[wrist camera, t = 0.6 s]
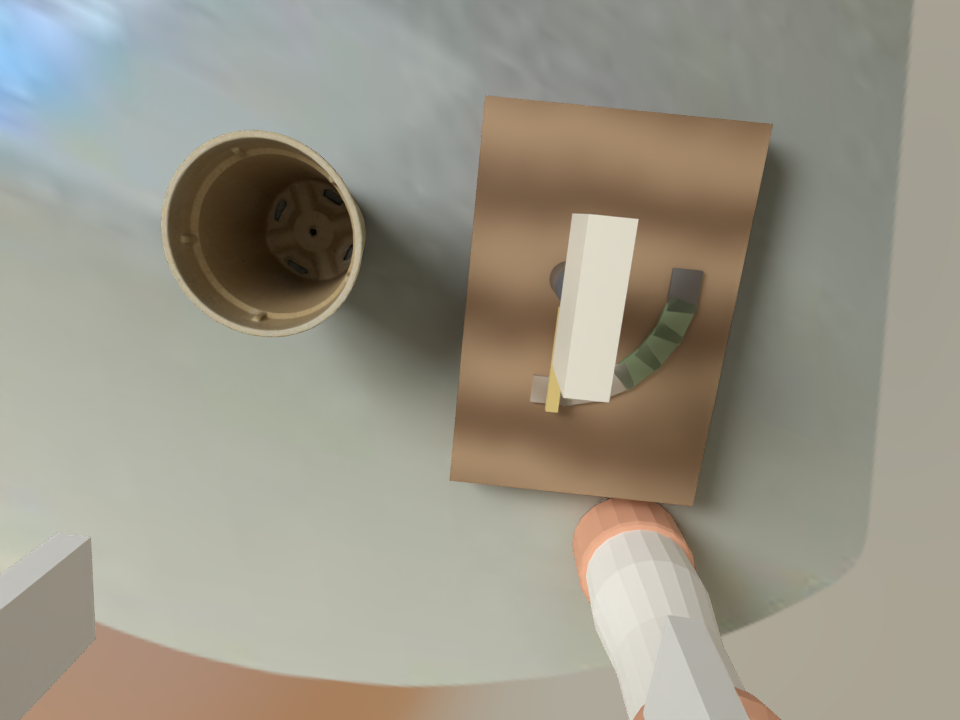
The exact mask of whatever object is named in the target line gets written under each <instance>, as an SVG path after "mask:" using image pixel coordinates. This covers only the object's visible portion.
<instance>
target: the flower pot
mask: <svg viewBox="0 0 960 720" xmlns="http://www.w3.org/2000/svg"><path fill="white" fill-rule="evenodd" d="M325 190H331V191H333V192H334V193H335V194H336V195H337V196H338V197H340V198H341V199H342V200H343V202H342V203H341V205H337V204H336V203H334V202H333V201H331V200H330V199H328V198H326V197H324V192H325ZM282 200H284V201H285V202H286V204H287V206H286V208H285V209H284V210H283V212H282V214H281V217H280V218H279V220H276V219H275V217H276V211H277V208H278V206H279V203H280V202H281V201H282ZM311 229H316V235H314V236H313V235H311V233H310V230H311ZM161 235H162V240H163V246H164V251H165V256H166V258H167V262H168V264H169V266H170V269H171V271H172V274H173V275H174V277H175V279H176V280H177V282H178V284H179V286H180V287H181V289H182V290H183V291H184V293H185V294H186V295H187V296H188V298H189V299H190V300H191V301H192V302H193V303H194V304H195V305H196V306H197V307H198V308H199V309H201V310H202V312H204V313H205V314H207V315H208V316H210V317H211V318H213V319H214V320H216V321H217V322H219V323H221V324H223V325H225V326H227V327H229V328H231V329H234V330H236V331H239V332H242V333H246V334H250V335H255V336H263V337H283V336H289V335H293V334H297V333H301V332H304V331H307V330H309V329H311V328H314V327H315V326H317V325H319V324H320V323H322V322H323V321H325V320H326V319H327V318H328V317H330V316H331V315H332V314H333V313H334V312H335V311H336V310H338V308H339V307H340V306H341V305H342V304H343V302H344V301H345V300H346V298H347V297H348V295H349V294H350V292H351V290H352V288H353V286H354V284H355V282H356V279H357V276H358V273H359V271H360V266H361V261H362V254H363V251H364V247H365V242H366V228H365V222H364V218H363V215H362V213H361V210H360V208H359V206H358V205H357V203H356V202H355V200H354V199H353V197H352V195H351V193H350V191H349V190H348V188H347V186H346V185H345V183H344V181H343V180H342V178H341V177H340V176H339V174H338V173H337V172H336V171H335V169H334V168H333V167H332V166H331V165H330V164H329V163H328V162H327V161H326V160H325V159H324V158H323V157H322V156H320V155H319V154H318V153H316V152H315V151H314V150H312V149H311V148H309V147H308V146H306V145H304V144H303V143H301V142H299V141H297V140H295V139H292V138H290V137H287V136H284V135H281V134H278V133H274V132H268V131H260V130H244V131H235V132H231V133H227V134H223V135H221V136H217V137H215V138H213V139H211V140H209V141H207V142H206V143H204V144H203V145H201V146H200V147H198V148H196V149H195V150H194V151H193V152H192V153H191V154H190V155H189V156H188V157H187V158H186V159H185V160H184V162H183V163H182V164H181V165H180V166H179V168H178V169H177V171H176V173H175V175H174V176H173V178H172V180H171V182H170V184H169V187H168V190H167V192H166V195H165V199H164V203H163V207H162V216H161ZM351 245H353V252H352V254H351V255H350V257H349V258H348V259H347V260H343V258H344V257H345V255H346V249H347V250H348V249H349V248H350V246H351ZM289 260H291V261H293V262H294V263H296V264H298V265H299V266H301V267H303V268H305V269H307V273H306V274H304V273H299V272H297V271H296V270H294V269H292V268H291V267H290V265H289V263H288V261H289Z"/></svg>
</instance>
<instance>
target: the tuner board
mask: <svg viewBox="0 0 960 720" xmlns="http://www.w3.org/2000/svg"><path fill="white" fill-rule="evenodd" d="M772 127H773V124H767V123H757V122H747V121H736V120H726V119H716V118H706V117H696V116H686V115H676V114H666V113H656V112H646V111H636V110H625V109H615V108H605V107H595V106H585V105H575V104H565V103H555V102H545V101H535V100H524V99H514V98H504V97H494V96H485V103H484V114H483V125H482V136H481V147H480V157H479V168H478V179H477V190H476V201H475V212H474V222H473V233H472V244H471V255H470V266H469V277H468V287H467V298H466V309H465V320H464V331H463V342H462V352H461V363H460V374H459V385H458V396H457V407H456V417H455V428H454V439H453V450H452V461H451V472H450V481H459V482H468V483H478V484H487V485H497V486H506V487H516V488H525V489H535V490H544V491H554V492H563V493H573V494H582V495H592V496H601V497H611V498H620V499H630V500H639V501H649V502H658V503H668V504H677V505H686V506H693V503H694V498H695V494H696V489H697V484H698V479H699V475H700V470H701V465H702V460H703V456H704V451H705V446H706V441H707V436H708V432H709V427H710V422H711V417H712V413H713V408H714V403H715V398H716V394H717V389H718V384H719V379H720V375H721V370H722V365H723V360H724V356H725V351H726V346H727V341H728V336H729V332H730V327H731V322H732V317H733V313H734V308H735V303H736V298H737V294H738V289H739V284H740V279H741V275H742V270H743V265H744V260H745V255H746V251H747V246H748V241H749V236H750V232H751V227H752V222H753V217H754V213H755V208H756V203H757V198H758V194H759V189H760V184H761V179H762V175H763V170H764V165H765V160H766V155H767V151H768V146H769V141H770V136H771V132H772ZM572 213H575V214H593V215H603V216H613V217H623V218H633V219H639V220H638V226H637V232H636V238H635V245H634V251H633V257H632V263H631V269H630V276H629V282H628V288H627V294H626V300H625V306H624V313H623V319H622V325H621V331H620V337H619V344H618V350H617V356H616V362H615V368H614V374H613V381H612V387H611V393H610V399H609V403H608V402H599V401H589V400H579V399H570V398H563V396H562V393H560V400H559V407H558V413H556V412H547V411H545V404H546V397H547V389H548V382H549V374H550V367H551V359H552V351H553V344H554V336H555V329H556V321H557V314H558V307H560V303H561V302H560V300H559V299H558V297H557V296H556V294H555V293H554V291H553V290H552V288H551V286H550V281H549V279H550V274H551V271H552V270H553V268H554V267H555V266H556V265H557V264H559V263H561V262H564V261H566V258H567V250H568V243H569V235H570V228H571V220H572Z"/></svg>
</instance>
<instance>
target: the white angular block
mask: <svg viewBox="0 0 960 720" xmlns="http://www.w3.org/2000/svg"><path fill="white" fill-rule="evenodd" d="M638 220H639V219H633V218H623V217H613V216H603V215H593V214H575V213H572V220H571V228H570V235H569V243H568V250H567V258H566V261H564V262H561V263H559V264H557V265H556V266H555V267H554V268H553V270H552V271H551V274H550V279H549V281H550V286H551V288H552V290H553V291H554V293H555V294H556V296H557V297H558V299H559V300H560V302H561V303H560V307H558V314H557V321H556V329H555V336H554V344H553V351H552V359H551V367H550V374H549V382H548V389H547V397H546V404H545V411H547V412H556V413H558V407H559V400H560V393H562V396H563V398H570V399H579V400H589V401H599V402H608V403H609V399H610V393H611V387H612V381H613V374H614V368H615V362H616V356H617V350H618V344H619V337H620V331H621V325H622V319H623V313H624V306H625V300H626V294H627V288H628V282H629V276H630V269H631V263H632V257H633V251H634V245H635V238H636V232H637V226H638Z"/></svg>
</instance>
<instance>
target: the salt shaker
mask: <svg viewBox="0 0 960 720" xmlns="http://www.w3.org/2000/svg"><path fill="white" fill-rule="evenodd" d="M573 550H574V556H575V561H576V566H577V570H578V575H579V580H580V585H581V589H582V591H583V593H584V594H585V596H586V598H587V599H588V601H589V603H590V604H591V608H592V613H593V619H594V624H595V629H596V631H597V633H598V635H599V637H600V639H601V641H602V644H603V646H604V648H605V650H606V652H607V654H608V656H609V659H610V661H611V663H612V665H613V667H614V669H615V671H616V674H617V676H618V679H619V683H620V687H621V691H622V694H623V699H624V702H625V706H626V710H627V714H628V718H629V720H645V719H644V716H643V711H644V707H645V703H646V699H647V695H648V691H649V687H650V683H651V679H652V675H653V671H654V667H655V663H656V659H657V655H658V651H659V647H660V643H661V639H662V635H663V631H664V627H665V623H666V619H667V615H671V616H678V617H686V618H693V619H700V620H701V621H702V623H703V625H704V627H705V629H706V631H707V633H708V635H709V637H710V639H711V641H712V643H713V645H714V647H715V649H716V651H717V653H718V656H719V658H720V660H721V662H722V664H723V666H724V668H725V670H726V672H727V674H728V676H729V678H730V680H731V682H732V684H733V686H734V688H735V691H736V693H737V695H738V697H739V699H740V701H741V703H742V705H743V707H744V709H745V711H746V713H747V715H748V717H749V719H750V720H781V719H779V717H777V716H776V715H775V714H774V713H773V712H772V711H771V710H770V709H769V708H768V707H766V706H765V705H764V704H763V703H762V702H761V701H759V700H758V699H757V698H756V697H755V696H753V695H751V694H750V693H748V692H746V691H745V689H744V687H743V685H742V683H741V681H740V679H739V677H738V675H737V673H736V671H735V669H734V667H733V665H732V663H731V661H730V659H729V657H728V655H727V653H726V651H725V649H724V646H723V643H722V640H721V636H720V632H719V629H718V625H717V622H716V618H715V615H714V611H713V608H712V604H711V601H710V597H709V594H708V593H707V591H706V589H705V587H704V585H703V583H702V581H701V580H700V578H699V576H698V575H697V573H696V571H695V564H694V556H693V554H692V552H691V550H690V549H689V547H688V545H687V543H686V541H685V539H684V538H683V536H682V534H681V532H680V530H679V529H678V527H677V525H676V523H675V521H674V520H673V518H672V516H671V515H670V514H669V513H668V512H667V511H666V510H665V509H664V508H663V507H662V506H660V505H659V504H657V503H655V502H649V501H639V500H630V499H620V498H610V499H608V500H606V501H604V502H602V503H600V504H597V505H595V506H594V507H593V508H592V509H591V510H590V511H589V512H587V513H586V514H585V515H584V516H583V517H582V519H581V521H580V523H579V524H578V526H577V528H576V530H575V534H574V540H573Z"/></svg>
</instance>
